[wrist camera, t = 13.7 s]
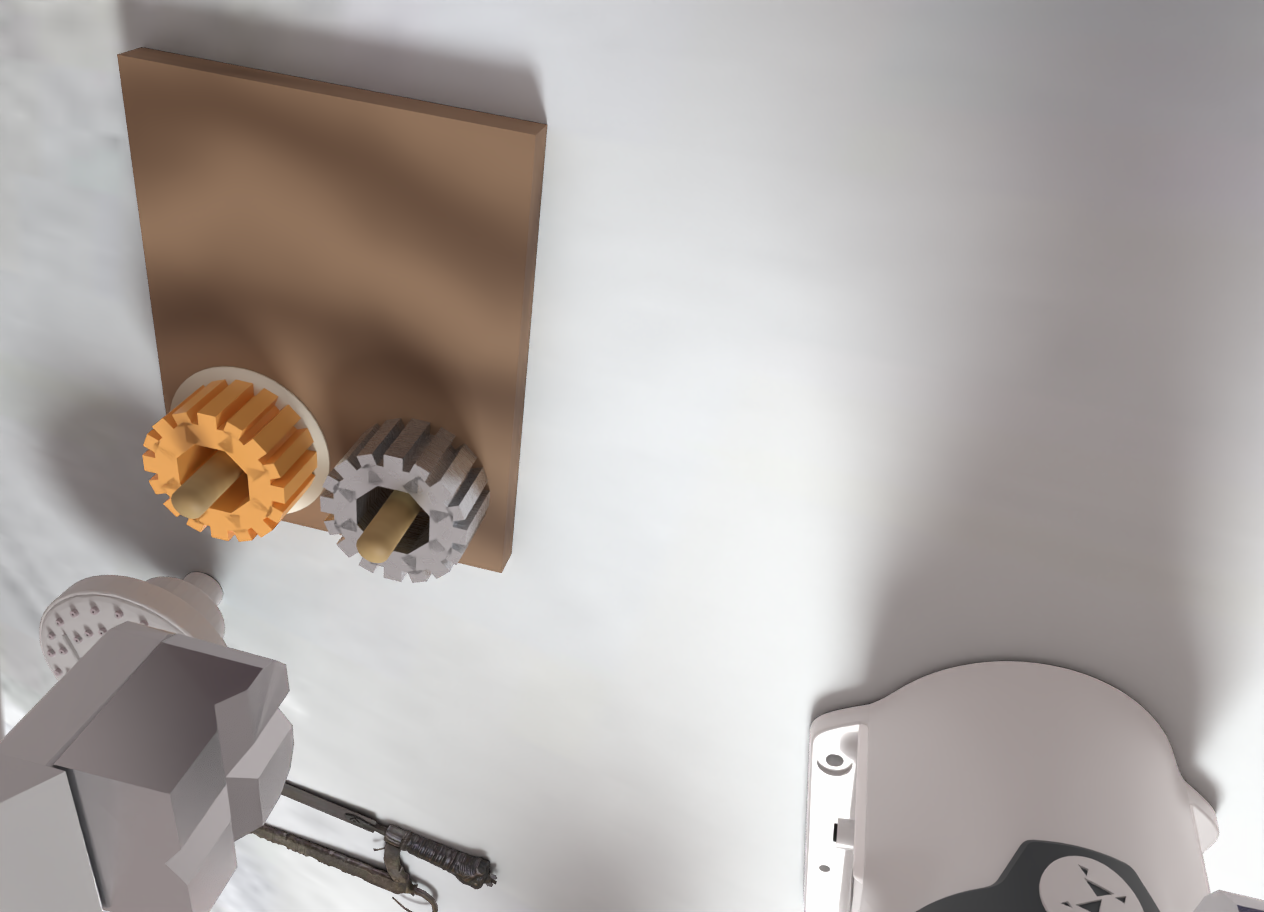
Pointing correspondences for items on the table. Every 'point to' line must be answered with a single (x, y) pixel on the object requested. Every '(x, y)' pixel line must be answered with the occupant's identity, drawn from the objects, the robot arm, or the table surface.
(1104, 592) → the table surface
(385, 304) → the gear board
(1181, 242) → the table surface
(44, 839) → the robot arm
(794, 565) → the table surface
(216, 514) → the gear
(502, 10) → the table surface
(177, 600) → the showerhead
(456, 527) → the gear
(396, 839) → the hacksaw
